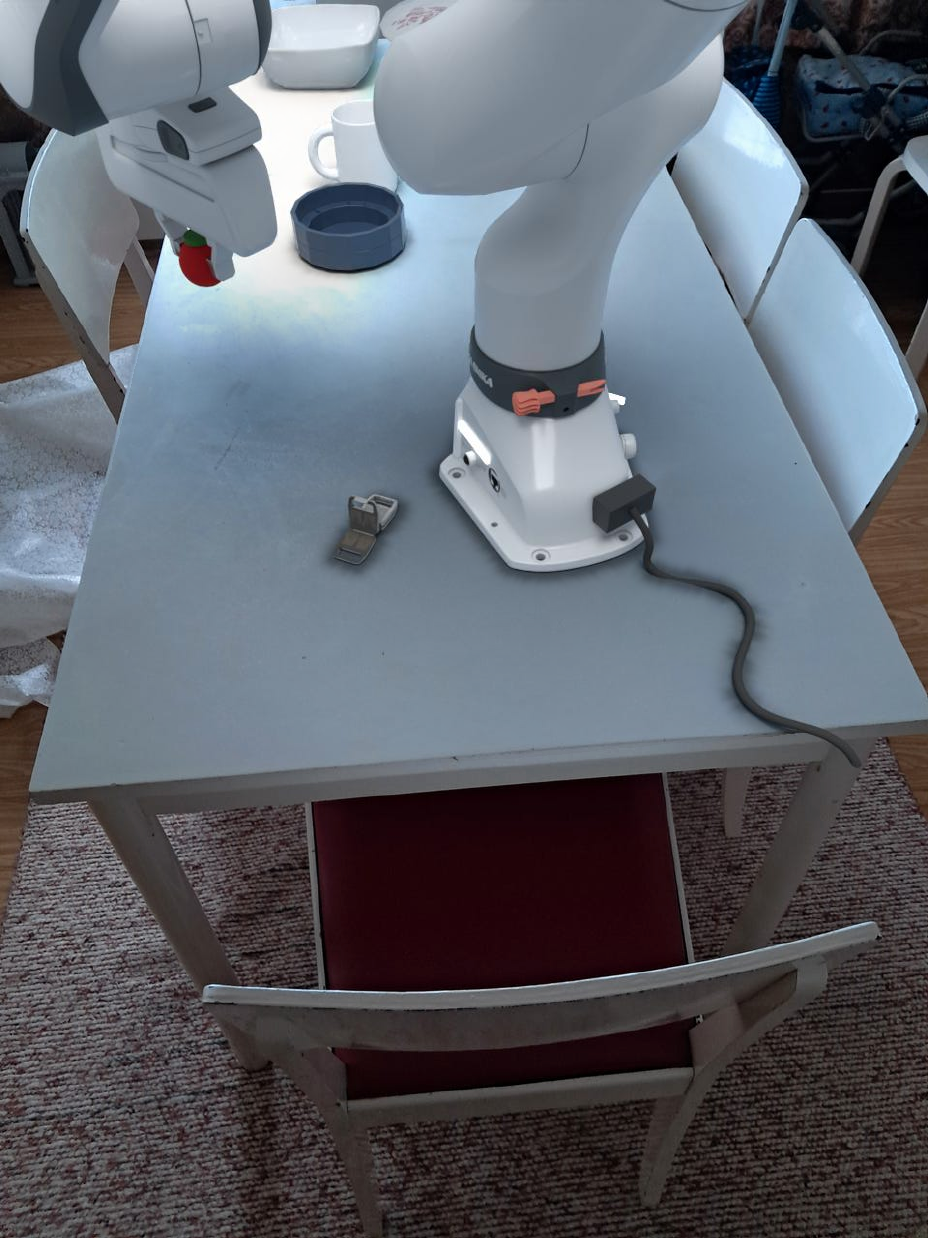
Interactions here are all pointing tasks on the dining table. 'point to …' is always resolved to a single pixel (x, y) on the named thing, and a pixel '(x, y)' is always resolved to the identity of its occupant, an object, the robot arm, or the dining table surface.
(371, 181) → the mug
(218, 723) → the dining table surface
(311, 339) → the dining table surface
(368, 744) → the dining table surface
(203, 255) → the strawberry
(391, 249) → the bowl
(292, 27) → the bowl
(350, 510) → the strap clip
